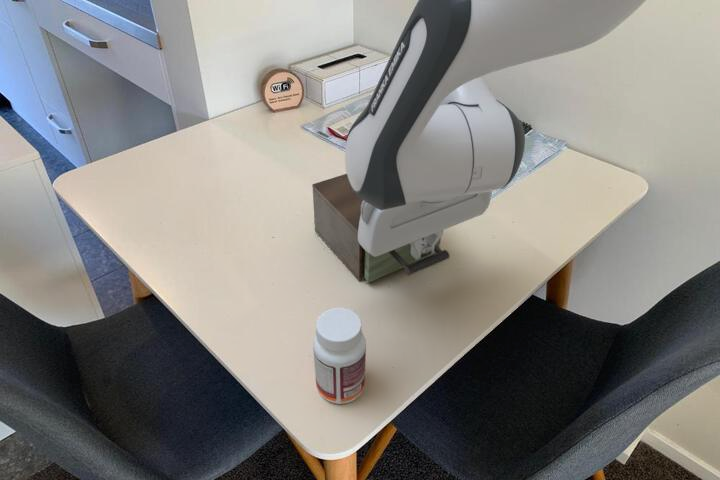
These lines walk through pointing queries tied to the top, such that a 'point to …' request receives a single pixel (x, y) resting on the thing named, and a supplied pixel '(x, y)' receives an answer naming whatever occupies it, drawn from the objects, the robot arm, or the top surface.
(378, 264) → the drawer
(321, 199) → the cabinet
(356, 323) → the pill bottle
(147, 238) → the top surface
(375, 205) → the robot arm
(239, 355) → the top surface
